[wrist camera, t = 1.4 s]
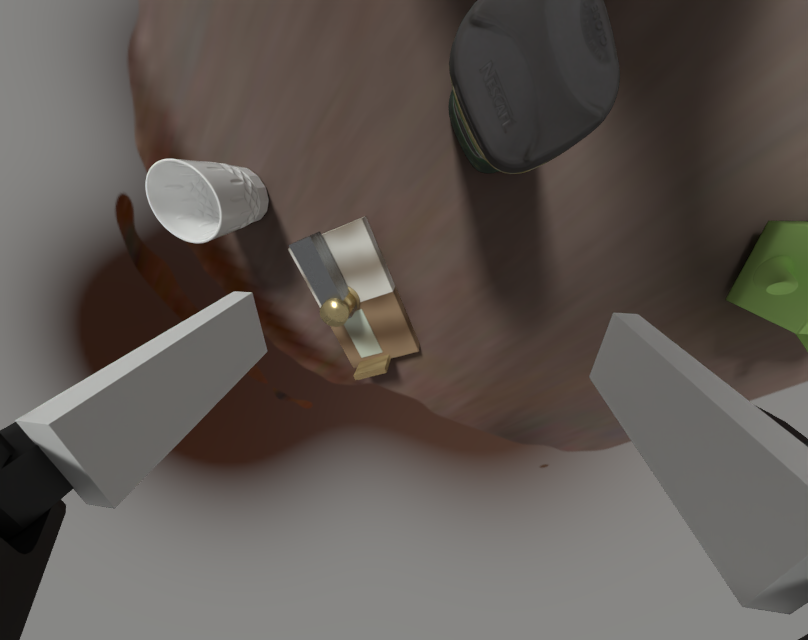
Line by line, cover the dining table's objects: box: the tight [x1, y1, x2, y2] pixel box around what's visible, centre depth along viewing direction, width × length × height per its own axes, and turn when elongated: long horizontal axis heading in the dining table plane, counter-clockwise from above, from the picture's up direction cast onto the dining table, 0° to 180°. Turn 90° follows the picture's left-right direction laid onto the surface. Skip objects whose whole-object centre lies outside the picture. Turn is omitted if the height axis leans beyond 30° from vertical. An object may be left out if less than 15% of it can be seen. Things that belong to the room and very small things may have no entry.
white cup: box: [145, 159, 269, 243], centre depth 34 cm, size 8×8×10 cm
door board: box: [288, 216, 420, 380], centre depth 40 cm, size 20×11×6 cm, turn 21°
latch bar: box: [289, 232, 357, 327], centre depth 37 cm, size 11×4×4 cm, turn 21°
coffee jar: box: [449, 0, 620, 174], centre depth 23 cm, size 10×8×19 cm
